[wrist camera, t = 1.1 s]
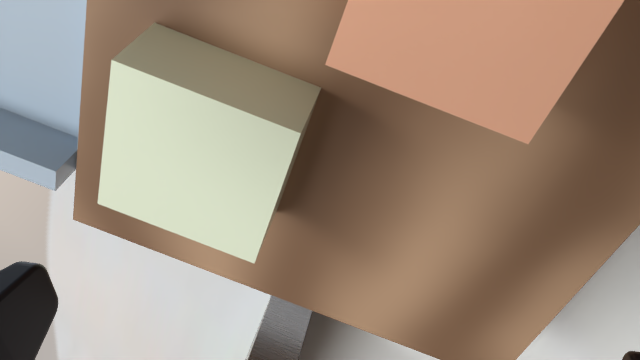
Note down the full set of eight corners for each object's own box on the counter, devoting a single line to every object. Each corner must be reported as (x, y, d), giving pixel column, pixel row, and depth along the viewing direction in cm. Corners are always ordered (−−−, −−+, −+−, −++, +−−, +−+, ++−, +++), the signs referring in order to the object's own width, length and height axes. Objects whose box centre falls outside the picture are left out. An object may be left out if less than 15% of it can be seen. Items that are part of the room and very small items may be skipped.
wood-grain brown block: (917, -236, 13) (1056, -230, 10) (493, 302, 26) (495, 380, 22) (210, -529, 13) (125, -618, 10) (123, 160, 25) (73, 219, 22)
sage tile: (321, 87, 17) (301, 133, 15) (276, 211, 20) (254, 263, 18) (154, 22, 17) (111, 59, 15) (135, 157, 20) (97, 203, 18)
